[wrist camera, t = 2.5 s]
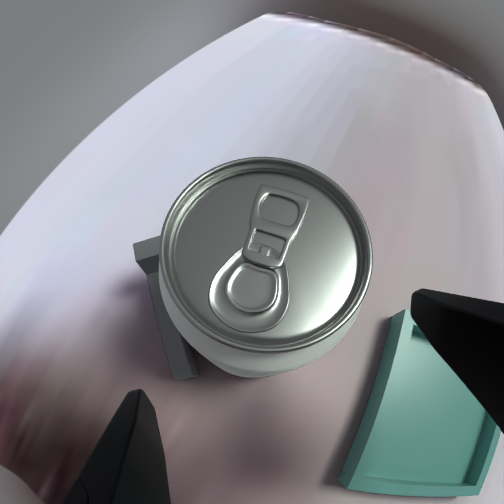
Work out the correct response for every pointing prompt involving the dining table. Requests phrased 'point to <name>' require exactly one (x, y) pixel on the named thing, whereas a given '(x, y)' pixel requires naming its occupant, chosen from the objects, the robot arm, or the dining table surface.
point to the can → (263, 265)
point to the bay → (165, 313)
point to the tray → (419, 425)
